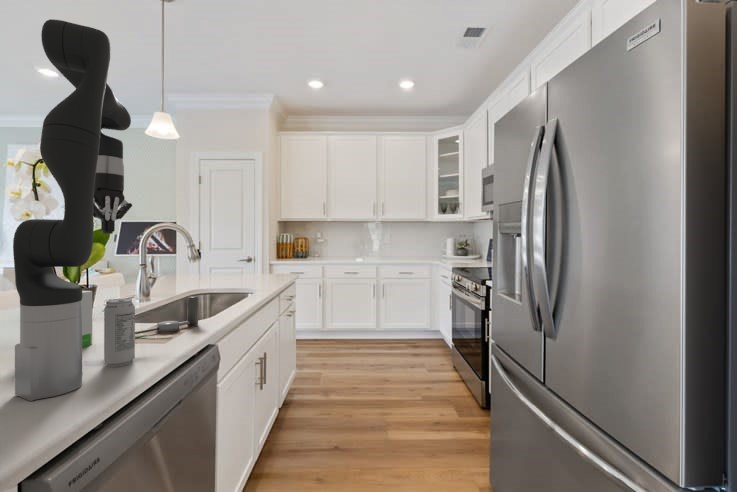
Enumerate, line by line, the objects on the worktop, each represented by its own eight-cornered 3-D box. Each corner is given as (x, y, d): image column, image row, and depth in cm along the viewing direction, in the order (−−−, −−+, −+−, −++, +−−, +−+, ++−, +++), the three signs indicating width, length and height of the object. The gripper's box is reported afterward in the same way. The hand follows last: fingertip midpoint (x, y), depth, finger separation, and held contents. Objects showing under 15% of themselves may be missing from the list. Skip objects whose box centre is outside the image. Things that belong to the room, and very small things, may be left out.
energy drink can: (124, 357, 92) (125, 297, 91) (140, 361, 89) (140, 299, 89) (98, 365, 86) (98, 301, 86) (114, 369, 83) (114, 303, 83)
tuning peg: (191, 322, 123) (192, 295, 123) (202, 325, 120) (202, 297, 119) (129, 334, 107) (129, 303, 107) (140, 337, 103) (140, 305, 103)
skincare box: (62, 358, 90) (62, 294, 90) (40, 356, 92) (40, 293, 91) (94, 348, 99) (94, 290, 98) (73, 346, 100) (73, 289, 100)
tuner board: (164, 347, 100) (164, 342, 100) (115, 347, 100) (115, 342, 100) (198, 327, 122) (198, 323, 122) (158, 327, 122) (158, 323, 122)
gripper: (90, 168, 99) (90, 233, 99) (139, 176, 111) (138, 234, 111) (74, 170, 102) (74, 233, 103) (123, 178, 114) (123, 234, 115)
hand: (108, 233), depth 107 cm, fingers closed
